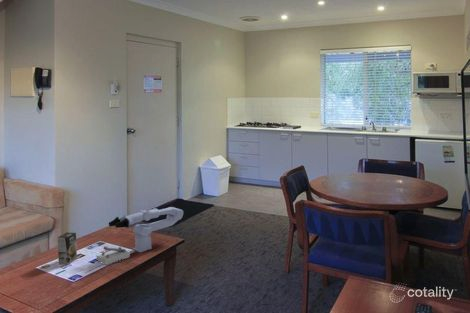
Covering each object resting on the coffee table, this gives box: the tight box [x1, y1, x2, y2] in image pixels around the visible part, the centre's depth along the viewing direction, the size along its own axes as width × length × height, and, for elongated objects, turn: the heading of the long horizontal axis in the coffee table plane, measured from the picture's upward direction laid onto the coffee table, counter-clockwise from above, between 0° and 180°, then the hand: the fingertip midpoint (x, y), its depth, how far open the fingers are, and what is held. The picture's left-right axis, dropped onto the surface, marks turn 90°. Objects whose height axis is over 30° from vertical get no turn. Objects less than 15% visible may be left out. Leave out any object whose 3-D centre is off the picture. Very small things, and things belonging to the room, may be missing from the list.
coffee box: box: [57, 232, 78, 265], centre depth 231 cm, size 9×6×16 cm
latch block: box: [96, 247, 131, 265], centre depth 236 cm, size 16×10×5 cm, turn 138°
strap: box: [103, 246, 124, 251], centre depth 236 cm, size 12×3×2 cm, turn 140°
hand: (112, 225), depth 234 cm, fingers open, 7 cm apart
